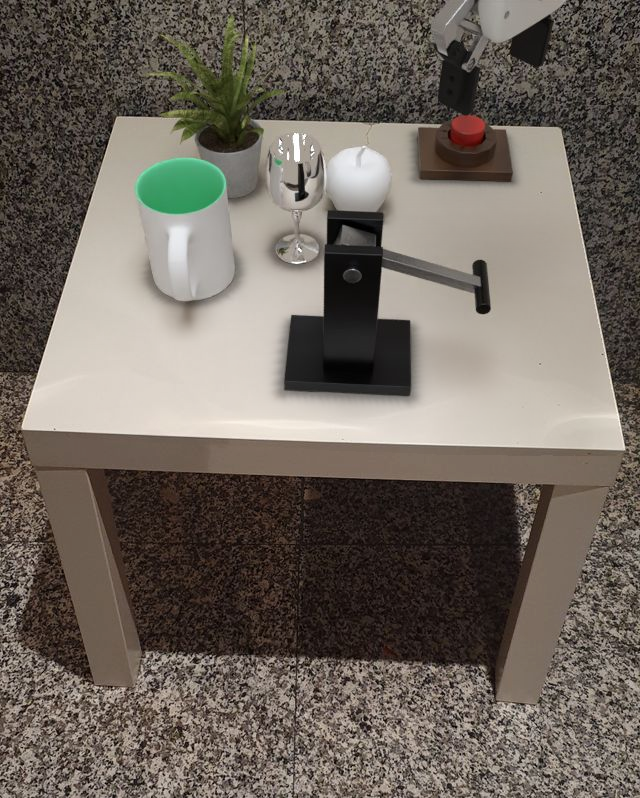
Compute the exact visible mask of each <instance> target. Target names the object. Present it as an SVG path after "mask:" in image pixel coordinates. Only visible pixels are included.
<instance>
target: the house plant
mask: <svg viewBox="0 0 640 798" xmlns="http://www.w3.org/2000/svg"><path fill="white" fill-rule="evenodd" d="M234 22H235V17H234V13H231V15H230V17H229V19H228V21H227V24H226V27H225V32H224V37H223V38H224V40H223V44H222V45H223V46H222V54H221V61H222V64H221V68H220V69H221V71H220V77H219V79H218V77H217V76H216V74H215V73H214V72H213V71H212V70H211V69H210V68H209V67H207V66H206V65H205V64H204V62H203V60H202V57H201V56H200V55H199V54H198V52H197V51H196V50H195V49H193V48H192V47H191V46H189V44H186V43H183V42H179V41H177V40H175V39H174V38H171V37H170V36H168V35H165V34H164V35H163V34H160V33H158V35H159V36H161V37H163V38H164V39H166V40H167V41H169V42H170V43H171V44H173V45H174V46H175V47H176V49H178V50H179V51H180V52H181V53H182V55H183V56H184V57H185V60H187V62H188V64H189V65H190V67H191V70H192V71H193V72H194V73H195V75H196V76H197V78H198V79H199V80H200V82H201V84H202V85H203V87H204V88H205V90H206V91H207V93H206V92H205V91H204V90H203V89H202V88H201V87H200V86H199V85H197V84H196V83H194V82H193V81H191V80H190V79H189V78H187V77H186V76H184V75H182V74H179V73H176V72H173V71H158V72H156V71H155V72H148V73H145V74H144V76H166V78H160V79H158V81H163V80H166V81H167V80H170V81H175V82H177V84H178V85H180V87H181V88H182V89H183V90H184V91H180V92H177V93H175V94H174V95H172V97H171V98H170V99H169V102H170V101H190V102H192V103H193V104H194V105H195V106H196V107H197V108H198V109H176V110H175V109H174V110H170V111H165V112H162V113H160V114H158V115H156V117H158V116H160V117H162V119H167V118H177V119H179V120H177V121H176V122H175V124H174V125H173V127H172V129H171V131H170V134H169V135H171V134H172V133H173V132H175V131H178V130H182V129H183V131H182V134H181V137H180V138H181V139H180V143H179V144H180V146H181V145H182V143H183V142H184V141H186V140H188V139H190V138H192V137H194V142H195V145H196V148H197V151H198V155H199V157H200V160H204V161H207V162H209V163H211V164H213V165H215V166H216V167H218V168H219V169H220V170H221V171H222V173H223V174H224V176H225V179H226V187H227V197H228V199H237V198H242V197H245V196H247V195H249V194H251V193H252V192H253V191H255V189H256V187H257V185H258V178H259V169H260V161H261V160H260V159H261V152H262V142H263V140H264V132H265V129H264V128H263V127H261V125H260V124H259V123H258V121H256V120H255V119H253V118H252V117H251V115H250V114H251V112H252V111H253V110H254V108H255V107H256V106H257V105H258V104H260V103H261V102H263V101H265V100H267V99H268V98H271V97H275V96H276V95H286V93H285V92H284V91H282V90H281V89H279V90H278V89H273V90H269V91H267V92H266V90H265V89H264V88H263V87H259V86H260V85H261V84H262V83H263V82H264V80H265V79H266V78H267V77H268V76H269V75H270V74H271V73H272V72H273V71H274V70H275V69H276V67H274V68H273V69H272V70H270V71H269V72H267V74H265V76H264V77H263V79H262V80H261V81H260V82H258V84H257V85H256V86H255V87H254V88H253V90H252V91H250V92H249V93H247V90H248V86H249V82H250V78H251V76H252V72H253V69H254V65H255V61H256V53H257V43H258V41H257V38H256V39H255V41H254V44H253V46H252V50H251V52H250V54H249V35H248V33H246V36H245V39H244V44H243V47H242V51H241V56H240V57H241V58H240V63H239V67H238V71H237V73H236V74H234V73H233V62H234V61H233V60H234V59H233V58H234V48H235V44H236V41H237V39H238V38H239V37H240V35H241V32H242V30H240V31H238V32H237V33H235V25H234ZM248 55H249V57H248ZM195 59H196V60H195ZM279 66H280V65H279V64H278V65H277V67H279ZM168 77H169V78H168ZM187 83H188V84H190V85H191V86H192V87H194V88H195V89H197V90H198V91H199V92H197V91H193V90H192V88H191V87H190V85H188V84H187ZM255 92H264V94H262V95H260V96H259V97H258V98H257V99H256V100H255V101H254V102H253V103H252V104H251V105H250V106H249V108H248V110H247V112H246V113H245V110H246V108H247V107H248V105H249V103H250V101H251V100H252V97H253V96H254V94H255ZM197 95H198V96H197ZM199 96H200V97H201V98H202V99H201V98H200V97H199ZM203 99H204V100H205V101H206V102H207V103H208V104H209V105H207V103H206V102H204V101H203ZM209 106H210V107H211V108H212V109H211V108H210V107H209ZM244 113H245V114H244ZM243 114H244V115H243Z"/></svg>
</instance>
